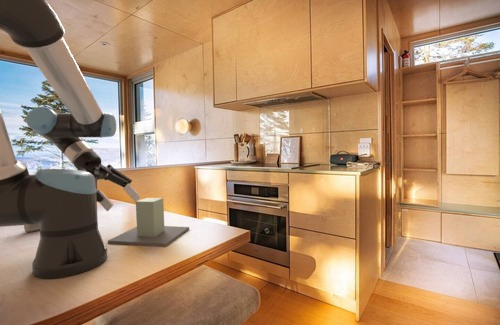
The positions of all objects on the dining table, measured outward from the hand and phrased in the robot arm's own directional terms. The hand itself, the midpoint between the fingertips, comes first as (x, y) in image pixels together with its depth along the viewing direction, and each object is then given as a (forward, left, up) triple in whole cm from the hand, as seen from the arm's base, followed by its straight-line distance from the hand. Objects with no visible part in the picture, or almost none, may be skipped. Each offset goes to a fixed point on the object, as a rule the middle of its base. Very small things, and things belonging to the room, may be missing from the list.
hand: (125, 203), depth 86 cm
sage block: (0, -9, -10) cm, 13 cm away
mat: (0, -9, -10) cm, 14 cm away
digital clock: (+4, +35, -11) cm, 36 cm away
